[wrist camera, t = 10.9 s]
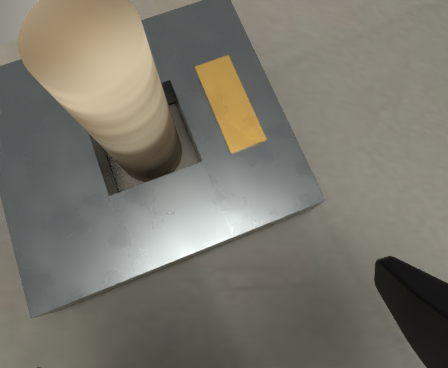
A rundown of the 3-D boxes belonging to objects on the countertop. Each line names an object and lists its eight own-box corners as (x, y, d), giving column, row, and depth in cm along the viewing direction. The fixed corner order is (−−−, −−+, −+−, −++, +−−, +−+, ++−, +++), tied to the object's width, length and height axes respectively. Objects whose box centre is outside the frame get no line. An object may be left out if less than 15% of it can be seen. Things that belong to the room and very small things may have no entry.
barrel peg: (194, 150, 24) (168, 32, 12) (150, 194, 24) (75, 115, 11) (150, 111, 25) (85, -36, 13) (106, 153, 24) (-8, 38, 12)
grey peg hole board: (312, 208, 23) (326, 199, 20) (56, 311, 22) (28, 318, 19) (226, 22, 27) (226, -10, 24) (-1, 98, 25) (-32, 73, 22)
